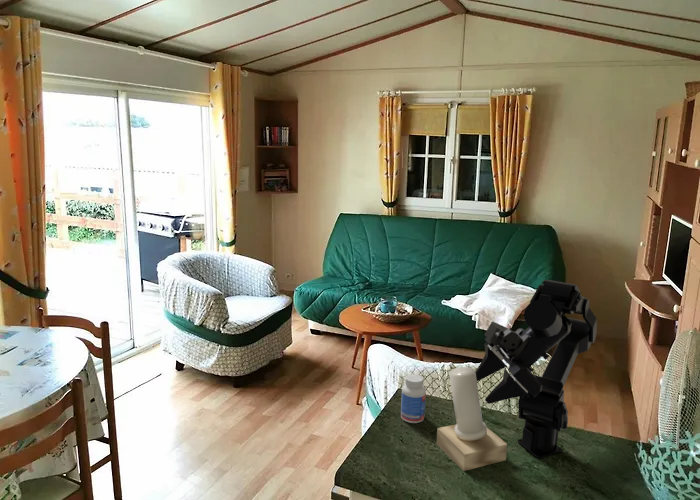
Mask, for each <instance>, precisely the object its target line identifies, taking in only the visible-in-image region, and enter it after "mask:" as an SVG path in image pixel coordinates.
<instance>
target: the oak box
mask: <svg viewBox="0 0 700 500" xmlns="http://www.w3.org/2000/svg"><path fill="white" fill-rule="evenodd" d="M456 424H457V423H456ZM456 424H451V425H446V426H441V427H437V430H436V431H437V432H436V445H437V446H438V447H439V448H440V449H441V450H442V451H443V452H444V453H445V454H446V456H448V457H449V458H450V459H451V460H452V461H453V462H454V463H455V465H457V466H458V467H459V468H460V469H461V470H462V471H463V472H466V471H469V470H473V469H476V468H481V467H484V466H488V465H492V464H493V465H494V464H496V463H497V464H498V463H500V462H504V461H506V460H507V452H508V443H507V442H505V441H504V440H503V439H501V437H499V436H498V435H497V434H495V433H494V432H493V431H492V430H491V429H489V428H488V427H487V434H486V435H485V436H484V437H483V438H481V439H478V440H471V441H468V440H462V439H459V438H458V437H457V436H456V435H455V429H454V427H455V425H456Z"/></svg>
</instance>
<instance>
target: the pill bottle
mask: <svg viewBox="0 0 700 500" xmlns="http://www.w3.org/2000/svg"><path fill="white" fill-rule="evenodd" d="M404 383H405V384H403V386H402V387H401V401H400V402H401V403H400V405H401V408H400V409H401V410H400V418H401V419H402V420H403V421H405V422H407V423H411V424H418V423H421V422H423V421H424V419H425V414H426V413H425V411H426V397H427V391H426V390H427V389H426V387H425V386H424V377H423V376H422V375H419V374H407V375H406V376H405V381H404Z"/></svg>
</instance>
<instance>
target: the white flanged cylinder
mask: <svg viewBox="0 0 700 500" xmlns="http://www.w3.org/2000/svg"><path fill="white" fill-rule="evenodd" d="M448 372H449V373H448V374H449V375H448V376H449V381H450V389H451V394H452V402H453V408H454V415H455V421H456V422H455V423H456V425H455V424H454V425H455V427H454V429H455V435H456V436H457V437H458V438H459V439H462V440H468V441H471V440H478V439H481V438H483V437H484V436H485V435H486V434H487V428H488V426H487V425H486V423H485V422H484V421H483V415H482V409H481V401H480V394H479V388H478V381H477V379H476V370H475V369H474V368H473V367H467V366H464V367H463V366H462V367H457V368H453V369H451V370H450V371H448Z"/></svg>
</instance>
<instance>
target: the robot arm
mask: <svg viewBox="0 0 700 500" xmlns="http://www.w3.org/2000/svg"><path fill="white" fill-rule="evenodd" d="M565 314H567V315H573V314H577V315H581V316H582V318H583V320H581V319H577V318H576V319H575V318H571V317H567V316H566V315H565ZM523 318H524V321H525V324H527V325H528V327H527V328H526V329H524V328H522V327H521V328H518V329H517V330H512V329H510V328H508V327H506V326H504V325H502V324H499V323H497V322H495V321H493V320H492V321H491V322H490V324H489V326H488V328H487V329H486V331H485V333H484V337H485V338H484V341H485V343H484V355H483V358H482V360H481V362H480V363H479V365H478V367H477V369H476V370H475V372H476V379H477V382H479V381H482V380H483V379H485V378H488V377H489V376H491V375H493V374H495V373H497V372H499V371H501V370H503V377H502V380H501V381H500V382H499V383H498V384H497V385H496V386H495V387H494V388H493V389H492V390H491V391H490V392H489V394H488V395H487V396H486V397H485V398H484V401H485V402H486V403H487V404H489V405H490V404H494V403H497V402H500V401H501V402H502V401H506V400H510V399H515V398H518V419H521V420H524V426H523V428H522V437H521V438H519V439H517V443H518V444H519V445H521V446H522V447H523V448H524V449H525V450H527V451H528V452H530V453H531V454H532V455H533V456H534V457H536V458H537V459H542V458H545V457H549V456H552V455H556V454H559V453H562V452H563V449H562V448H561V447H560V446H558V437H559V432H561V431H562V430H565V429H567V428H568V424H569V416H568V414H569V412H568V411H569V410H568V408H567V405H566V402H565V401H564V399H565V398H564V397H565V390H564V387H565V383H566V381H567V379H568V377H569V376H570V375H569V374H570V372H571V370H572V368H573V365H574V363H575V361H576V359H577V357H578V355H579V354H582V353H585V352H588V351H589V349H590V347H591V345H592V344H594V343H595V341H596V337H597V332H598V331H597V330H598V329H597V327H598V326H597V325H598V319H597V317H596V315H595V313H594V312H593V311H592V310H591V308H590V299H589V298H587V297H586V296H582V292H581V291H580V289H579V286H578V285H577V284H574V283H568V282H562V281H556V280H551V279H544V280H543V281H542V283H540V284H538V286H537V288H536V290H535V291H534V294H533V296H532V298H531V299H530V301H529V304H527V306H526V307H525V308H524V312H523ZM555 346H556V347H555ZM554 347H555V349H554V351H553V353H552V355H551V357H550V356H549V355H548V354H547V353H548V352H549V351H550V350H552V349H553V348H554ZM549 357H550V359H549ZM541 358H543V359H544V360H547V359H549V361H548V364H547V365H546V367H545V369H544V371H543V373H542V375H541V376H539V375H536V374H533V371H534V369H533V368H532V366H533V365H534V364H535V363H537V361H539V360H540V359H541ZM506 364H508V369H507V370H506V369H504V368H506V367H507V365H506ZM509 372H510V373H509Z"/></svg>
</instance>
